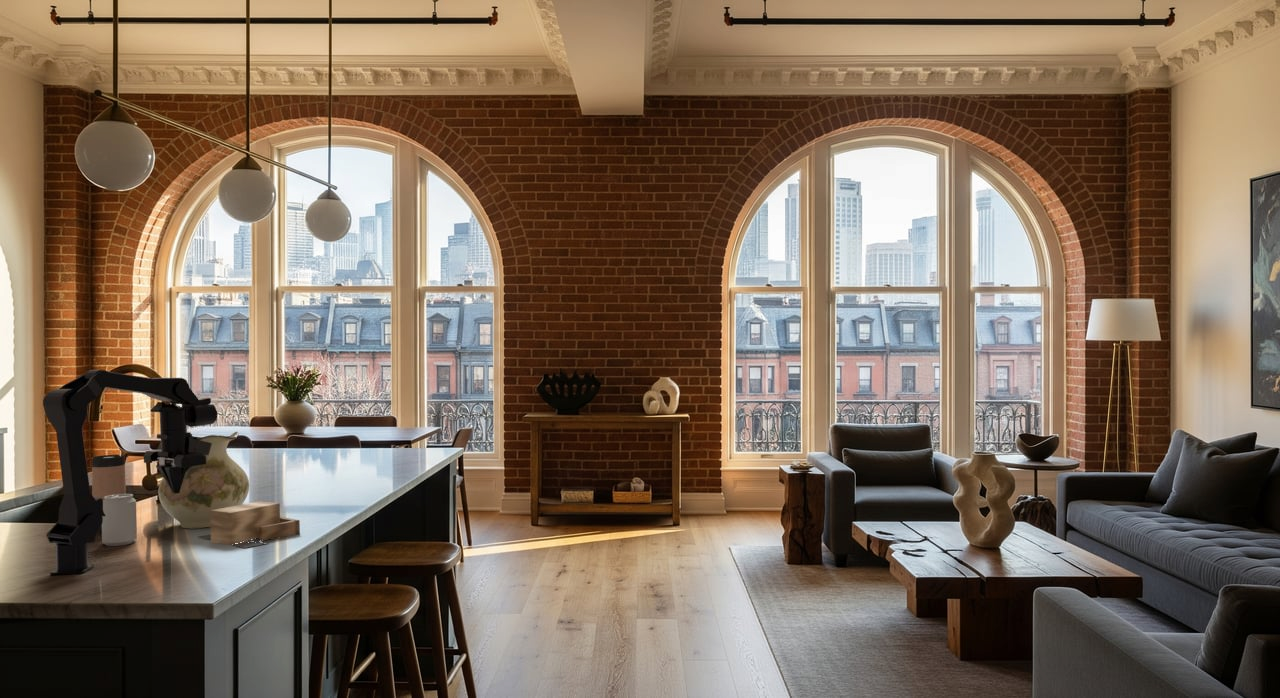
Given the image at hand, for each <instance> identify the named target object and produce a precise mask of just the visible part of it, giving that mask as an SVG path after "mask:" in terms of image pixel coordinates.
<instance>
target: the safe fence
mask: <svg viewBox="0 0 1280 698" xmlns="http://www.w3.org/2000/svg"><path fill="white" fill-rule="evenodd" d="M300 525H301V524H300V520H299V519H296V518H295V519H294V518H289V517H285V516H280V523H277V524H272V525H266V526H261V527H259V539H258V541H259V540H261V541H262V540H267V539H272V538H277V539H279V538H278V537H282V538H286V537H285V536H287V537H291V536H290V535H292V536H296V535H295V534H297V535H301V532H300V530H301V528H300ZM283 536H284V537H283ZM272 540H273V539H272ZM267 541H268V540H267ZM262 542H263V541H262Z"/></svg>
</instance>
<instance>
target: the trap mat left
mask: <svg viewBox="0 0 1280 698" xmlns="http://www.w3.org/2000/svg"><path fill="white" fill-rule="evenodd" d="M199 537H200V538H199ZM197 538H199V539H204V540H207V541H211V533H209V534H204V535H199V536H197Z"/></svg>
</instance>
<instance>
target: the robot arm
mask: <svg viewBox="0 0 1280 698" xmlns="http://www.w3.org/2000/svg"><path fill="white" fill-rule="evenodd" d="M104 389H107V390H108V389H109V390H116V391H123V392H129V393H137V394H142V395H145V396H146V397H149V398H150V399H154V400H157V402H156V404H155V405H154V406H153V407H151V408H150V410H149V411H150V412H151V413H158V414H159V432H160V433H157V434H156V439H159V440H160V443H161V449H160V450H158V449H155V450H154V449H153V450H147V451H146V452H145V453H144V454H143V463H144V464H152V463H153V462H158V461H159V462H158V464H157V465H155V467H156V469H158V471H159V472H160V475H162V476H163V477H164V478H165V480H166V482H167V483H168V485H169V487H170V488H171V490H172V492H173V493H175V494H177V493H179V492H180V489H181V486H182V482H183V479H184V476H185V473H186V471H187V470H188V469H189V468H190V467H192V466H197V465H203V464H207V456H206V455H209V452H210V449H211V446H212V443H209V442H205V441H201V440H198V439H199V437H198V436H197V437H196V436H193V434H192V433H191V431H190V432H189V431H188V427H190V428H194V427H199V426H200V427H201V426H208V425H209V426H210V425H213V424H215V423H216V421H217V420H218V410H217V409H216V406H215V404H213V403H212V399H211V398H210V397H203V398H198V396H196V394H195V393H194V392H193V390H192V389H191V387H190V384H189V382H188V381H187V379H186V378H183V377H153V378H152V377H144V376H140V375H139V376H138V375H131V374H126V373H121V372H113V371H107V370H106V369H90V370H87V371H86V372H84V373H83V374H81V375H80V376H78V377H77V378H75V379H73V380H70V381H69V382H67V383H65V384H63V385H62V386H60V387H59V388H55V389H54V388H53V389H51V390H49V391H48V392H47V393H46V395H45V396H44V397H43V399H42V406H43V409H44V412H45V416H46V418H47V420H48V421H49V423H50V425H51V426H52V427H53V429H54V430H55V433H56V440H57V448H58V450H57V451H58V456H59V465H60V471H61V473H60V474H61V479H62V480H61V481H62V488H63V497H62V500H61V503H60V505H59V507H58V521H56V522H55V524H54V525H53V526H52V527H51V529H50V530H49V531H47V533H46V538H47V541H48V543H49V544H55V546H56V547H55V549H56V552H55V553H56V555H55V556H56V569H54V570H52V571H50V572H49V575H50V576H52V575H53V576H54V575H66V574H67V575H69V574H81V573H85V572H87V571H88V570H90V569H91V568H93V567H94V566H95V563H89V560H88V559H89V557H88V555H89V554H88V550H89V549H88V544H90V543H94V542H95V541H96V538H97V535H98V534H97V532H98V529H99V527H100V526H102V523H103V517H102V516H105V514H104V511H103V500H102V498H94V497H93V495H92V492H91V488H90V480H89V473H88V472H89V471H88V465H87V456H86V455H87V454H86V449H85V439H84V433H83V429H84V428H83V427H84V425H85V424H86V423H85V422H86V420H87V417H88V412H89V409H88V408H89V404H90V403H92V402H93V401H94V400H96V399H97V398H98V397H99V395H100V394H101V392H102V391H104ZM165 402H168V404H167V403H165ZM180 405H181V406H180ZM163 477H162V478H163Z"/></svg>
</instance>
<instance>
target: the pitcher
mask: <svg viewBox="0 0 1280 698" xmlns="http://www.w3.org/2000/svg"><path fill="white" fill-rule="evenodd" d="M238 437H239V431H234V432H232V434H231V435H230V436H225V435H217V434H214V435H213V434H210V435H206V436H203V437H200V438H199V437H198V440H201V441H205V442H209V443H212V446H211V449H210V452H209V455H206V456H207V464H203V465H197V466H192V467H190V468H189V469H188V470H187V471H186V473H185V476H184V479H183V482H182V486H181V489H180V492H179V493H177V494H175V493H173V492H172V490H171V488H170V487H169V485H168V483H167V482H166V480H165V478H164V477H162V478H161V480H160V482H159V486H158V498H159V502H160V504H161V506H162V508H163V509H164V511H166V513H167V514H168V515H170V517H172V519H175V520H176V521H177V522H179V525H180V527H182V528H184V529H203V528H204V527H208V528H211V522H210V510H215V509H220V508H225V507H231V506H236V505H241V504H245V503H244V502H245V501H246V499H247V497H248V494H249V492H250V482H249V481H250V480H249V477H248V475H247V473H246V472H245V470H244V469H243V468H242V467H241V466H240V465H239V464H238V463H237V462H236V461H235V460H233V458H232V457H230V456H229V453H228V452H227V447H228V445H229V444H230V442H231V441H234V440H236V439H237V438H238ZM160 449H161V442H160V443H159V446H158V448H157V450H160ZM157 462H158V463H159V461H157ZM204 529H205V528H204Z"/></svg>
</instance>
